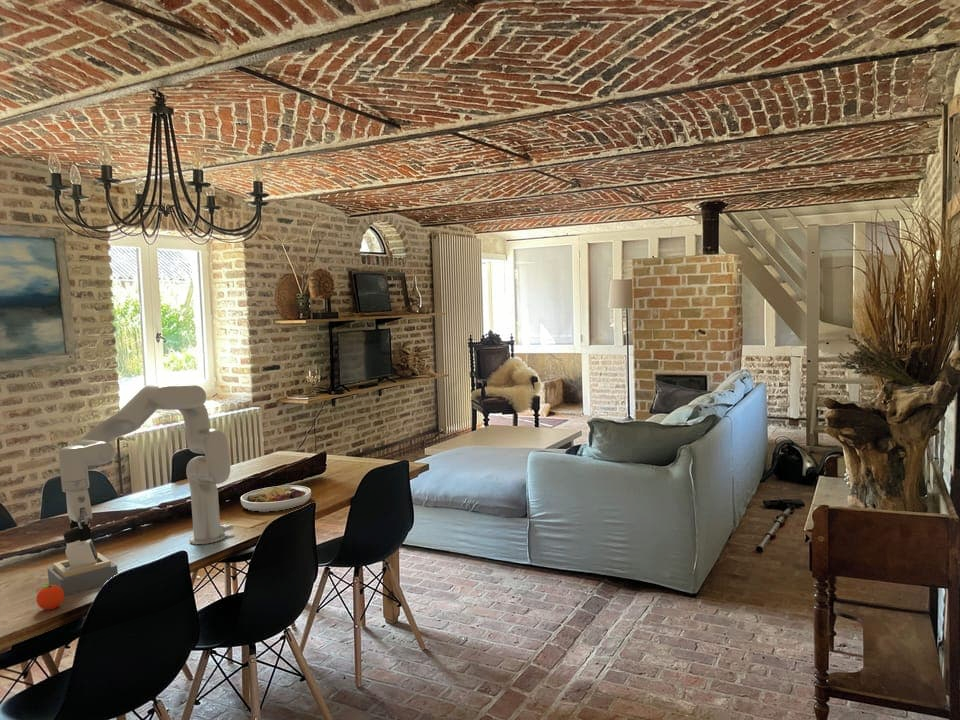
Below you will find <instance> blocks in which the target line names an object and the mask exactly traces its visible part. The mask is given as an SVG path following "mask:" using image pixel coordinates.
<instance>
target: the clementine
mask: <svg viewBox="0 0 960 720" xmlns="http://www.w3.org/2000/svg"><path fill="white" fill-rule="evenodd" d="M35 593H36V594H37V595H36V604H37V606H39V608H41V609H43V610H46V611H49V610H50V609H51V610H54V609H56V608H58V607H59V606H60V605H61V604H62V603H63V601H64V598H65V596H64V592H63V590H62V588H61V587H59V586H57V585H50V584H46V585H43V586H41V587H39V588H38V589H37V590H36V592H35Z"/></svg>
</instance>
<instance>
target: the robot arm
mask: <svg viewBox="0 0 960 720" xmlns="http://www.w3.org/2000/svg"><path fill="white" fill-rule="evenodd" d="M206 400H207V393H206V391H205V389H204V388H203V387H202V386H199V385H196V384H193V385H192V384H173V385H166V384H149V385H146V386H144V387H143V388H141V389H140V390H139V391H138V392H137V393H136V394H135V395H134V396H133V397H132V398H131V399H130V400H129V401H128V402H127V403H126V404H125V405H124V406H123V407H122V408H121V409H119V411H118V412H116V413H115V414H113V415H111V416H110V417H108V418H107V419H105V420H103V421H102V422H100V423H98V424H97V425H95V426H94V427H93V428H91V429H90V430H89V431H88V432H87V433H86V434H85V435H83V437H82V438H81V439H80V440H79V441H78V442H77V443H76V444H75V445H68V446H64V447H61V448H60V449H58V453H57V455H58V462H59V472H60V480H61V490H62V492H63V493H65V498H66V499H65V500H66V501H65V502H66V510H67V511H66V512H67V516H68V518H69V527H70V529H73V528H76V527H79V528H80V529H79V539H80V541H81V542H82V541H86V540H90V539H91V538H92V531H91V525H90V524H91V523H90V520H92V519H93V512H92V505H91V497H90V493H89V490H88V489H89V488H90V479H89V471H88V470H89V469H88V467H91V466H101V465H102V466H103V465H105V464H108V463H110V462H111V461H112V460H113V459H114V457H115V455H116V450H115V447H114V446H113V445H112V444H111V443H110V442H111V441H113V440H116V439H117V438H119V437H122V436H125V435H129V434H131V433H133V432H136V431H138V430H139V429H140V428H141V427H142V426H143V424H144V423H145V422H146V421H147V420H149V419H150V418H151V416H152V415H153V414H154V413H155V412H156V411H157V410H166V411H169V410H170V411H171V410H172V411H177V410H178V411H179V412H180V413H181V415H182V417H183V422H184V429H185V436H186V437H185V438H186V444H187V447H188V449H189V451H190V452H192V453H194V454H201V455H198V456H195V457H193V458H191V459H190V460H188V463H187V464H186V469H185V473H186V478H187V482H188V485H189V491H190V503H191V514H192V515H191V516H192V519H191V520H192V530H193V531H192V533H193V536H191V537H190V538H189V543H190V544H191V543H192V545H197V544H202V545H210V544H213V543H214V542H215V543H218V542H220V541H219V540H221V541H223V540H224V539H225V538H226V533H225V532H227V531H233V530H234V525H233V524H223V525H222V524H221V517H220V515H221V514H220V504H219V501H220V500H219V489H218V487H217V485H220V484H224V482H226V481H227V480H228V479H229V477H230V474H231V459H230V458H231V457H230V449H229V441H228V438H227V436H226V435H225V432H224V431H222V430H220V429H218V428H217V429H216V428H211V424H210V416H209V413H208V410H207V408H206V405H205V403H206ZM70 529H69V530H70ZM222 539H223V540H222ZM217 541H218V542H217ZM209 543H210V544H209Z"/></svg>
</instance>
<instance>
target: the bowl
mask: <svg viewBox="0 0 960 720" xmlns="http://www.w3.org/2000/svg"><path fill="white" fill-rule="evenodd" d="M311 494H312V490H311V488H309V487H307V486H305V485H304V486H303V485H283V484H282V485H277V486H271V487H270V486H269V487H264V488H259V489H255V490H251V491H249V492H247V493H244V494H243V495H241V496H240V503H241V505H242V507H243V508H244V509H246V510H247V509H248V511H250V510H251V512H254V511H259V512H258V513H270V512H269V511H275V512H280V511H279V510H283V511H285V510H284V509H288V510H290V509H289V508H292V509H294V508H293V507H296V506H298V507H300V505H301V506H303V505H304V504H306V503H307V502H308V501H309V500H310V498H311ZM296 508H297V507H296Z"/></svg>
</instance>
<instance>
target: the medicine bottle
mask: <svg viewBox="0 0 960 720" xmlns="http://www.w3.org/2000/svg"><path fill="white" fill-rule="evenodd" d="M79 529H80V528H79V527H76V528H73V529H69V530H67V531H66V532H64V533H63V539H64V541H65V542H64V543H65V544H66V548H65V550H64V551H65V552H64V553H65V555H66V558H67V560H68V561H69V564H70V567H71V569H76V568H80V567H84V566H88V565H91V564H94V563H96V562H97V558H98V554H97V553H98V551H97V550H96V546H95V544H94V541H93V538H92V537H91V539H90V540H86V541H82V542H81V541H80V539H79Z"/></svg>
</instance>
